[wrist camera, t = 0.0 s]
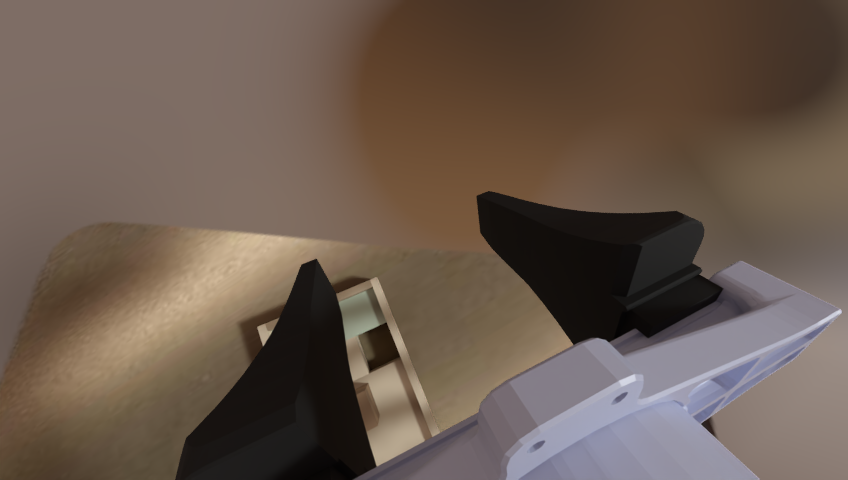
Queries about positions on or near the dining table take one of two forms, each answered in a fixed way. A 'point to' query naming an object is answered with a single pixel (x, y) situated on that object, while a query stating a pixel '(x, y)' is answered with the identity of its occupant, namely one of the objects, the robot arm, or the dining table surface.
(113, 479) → the dining table surface
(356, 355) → the box
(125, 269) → the dining table surface
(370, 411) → the walnut block
